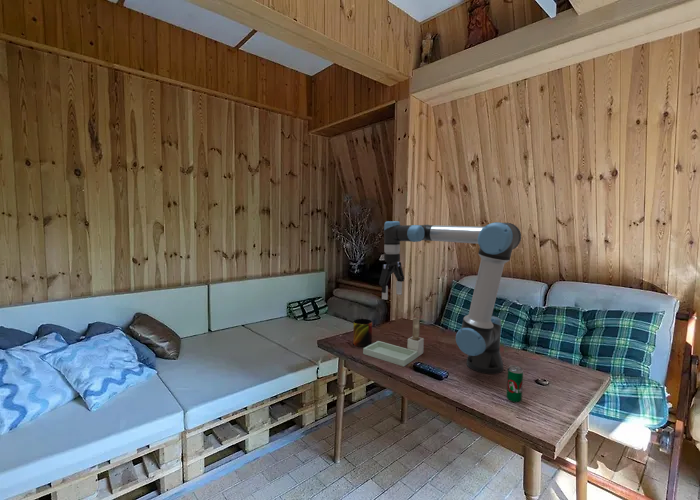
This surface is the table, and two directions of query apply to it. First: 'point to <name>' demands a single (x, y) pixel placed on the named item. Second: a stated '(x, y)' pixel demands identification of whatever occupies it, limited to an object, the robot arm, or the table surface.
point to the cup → (416, 345)
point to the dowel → (416, 329)
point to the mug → (362, 332)
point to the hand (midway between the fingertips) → (392, 296)
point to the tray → (390, 353)
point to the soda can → (514, 383)
